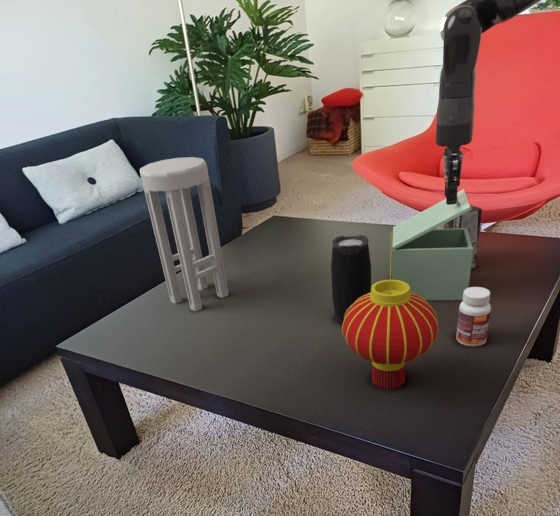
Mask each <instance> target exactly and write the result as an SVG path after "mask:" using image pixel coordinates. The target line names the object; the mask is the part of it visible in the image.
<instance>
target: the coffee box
mask: <svg viewBox="0 0 560 516" xmlns="http://www.w3.org/2000/svg"><path fill="white" fill-rule="evenodd" d="M470 207H471V210H470V211H468V212H466V213H464V214H462V215H460V216H458V217H457V218H455V219H453V220H451V221H449V222H447V223H445V224H443V225H441V226H439V227H438V229H449V228H467V230H468V233H469V237H470V240H471V244H472V247H473V254H472V262H471V269H474V268H476V265H477V255H478V247H479V239H480V229H481V221H482V213H483V212H482V211H483V208H482V207H478V206H476V205H472V204H470Z"/></svg>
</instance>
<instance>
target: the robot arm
mask: <svg viewBox="0 0 560 516" xmlns="http://www.w3.org/2000/svg"><path fill="white" fill-rule="evenodd" d="M541 1H542V0H464V1H463V2H460V3H459V4H457V5H455V6H453V8H451V9H450V10H448V12H447V13H446V14H445V15H444V16H443V18H442V20H441V24H440V29H439V32H440V38H441V40H442V41H443V42H442V43H443V48H442V67H441V70H440V73H439V86H438V87H439V88H438V101H437V108H436V126H435V128H436V129H435V144H436V145H437V146H439V147H442V148H444V151H443V153H442V161H443V165H442V170H443V175H444V176H443V178H444V197H445V199H446V204H447V205H453V204H456V203H457V192H458V188H459V187H460V186H461V175H462V166H463V165H462V164H463V161H464V153H463V150H461V147H462V146H467V145H469V144H471V143H472V141H473V133H474V122H475V111H476V110H475V107H476V103H475V94H476V93H475V92H476V75H477V71H476V70H477V63H478V58H479V52H480V47H481V46H480V45H481V41H482V40H481V39H482V34H484V33H485V32H487V31H488V30H490V29H492V28H493V27H495V26H497V25H499V24H503V23H506V22H508V21H510V20H511V19H513V18H516V17H517V16H519V15H520V14H522V13H524V12H525V11H527V10H529V9H531V8H532V7H534V6H535V5H537V4H538V3H540V2H541Z"/></svg>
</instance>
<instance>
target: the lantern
mask: <svg viewBox="0 0 560 516" xmlns="http://www.w3.org/2000/svg"><path fill="white" fill-rule="evenodd" d="M392 243H393V231H390V247H392ZM389 252H390V256H389V262H390V263H389V265H390V266H389V279H384V280H379V281H376V282H375V283H373V284H371V292H370V293H368V294H367V295H363V296H362V297H360V298H358V299H357V300H356V301H355V302H354V303H353V304H352V305H351V306H350V307H349V308H348V310H347V311H346V313H345V316H344V322H343V324H341V325H342V327H341V332H342V336H343V338H344V341H346V344H347V346H348V348H349V349H350V350H351V351H352V352H353V353H355V354H356V355H358V356H359V357H360V358H361V359H362V360H365V361H368V362H371V380H372V382H373V383H372V384H374V385H375V386H376V387H378V388H380V389H382V388H383V389H386V390H388V389H389V390H391V389H396V388H399V387H401V386H403V384H405V381H406V363H409V362H413V361H414V360H416V359H418V358H419V357H421V356H423V355H425V354H426V353H427V352H428V351H429V350H430V348H431V347H432V345H433V344H434V343H435V341H436V339H437V337H438V334H439V323H438V322H439V321H438V315H437V312H436V311H435V310H434V308H433V307H432V305H430V304H429V302H428V300H425V299H423V298H422V297H420V296H418V295H415V294H414V293H412V292H410V286H409V285H408V284H407V283H406V282H403V281H400V280H392V277H391V276H392V248H390V250H389ZM377 374H378V375H377Z"/></svg>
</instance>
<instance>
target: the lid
mask: <svg viewBox="0 0 560 516" xmlns="http://www.w3.org/2000/svg"><path fill="white" fill-rule="evenodd" d="M470 205H471V203H470V200H469V198H468V195H467V192H466V190H465V188H463V189H461V190H459V191H457V203H456V204H453V205H447V204H446V198H445V199H442V200H441V201H439V202H437V203H435V204H434V205H432V206H429V207H428V208H426V209H424V210H422V211H421V212H419V213H416V214H414V215H413V216H411V217H409V218H408V219H405V220H403V221H401V222H400V223H398V224H396V225H395V226H392V246H391V249H392V250H393V249H394V250H395V249H396V248H398V247H400V246H402V245H404V244H406V243H408V242H410V241H412V240H414V239H416V238H418V237H420V236H422V235H424V234H426V233H427V232H429V231H431V230H433V229H438V228H439V227H440V226H441V225H443V224H445V223H447V222H449V221H451V220H453V219H455V218H457V217H458V216H460V215H462V214H464V213H466V212H468V211H470V210H471V207H470Z"/></svg>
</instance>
